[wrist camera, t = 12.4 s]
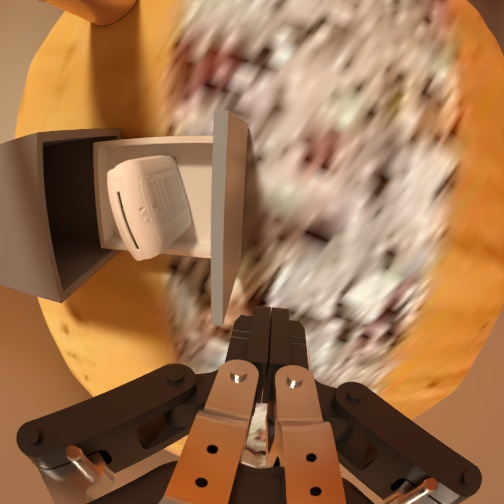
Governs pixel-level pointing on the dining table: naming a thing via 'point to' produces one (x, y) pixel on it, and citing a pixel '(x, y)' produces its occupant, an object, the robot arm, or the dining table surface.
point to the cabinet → (50, 212)
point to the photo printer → (148, 204)
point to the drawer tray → (191, 196)
